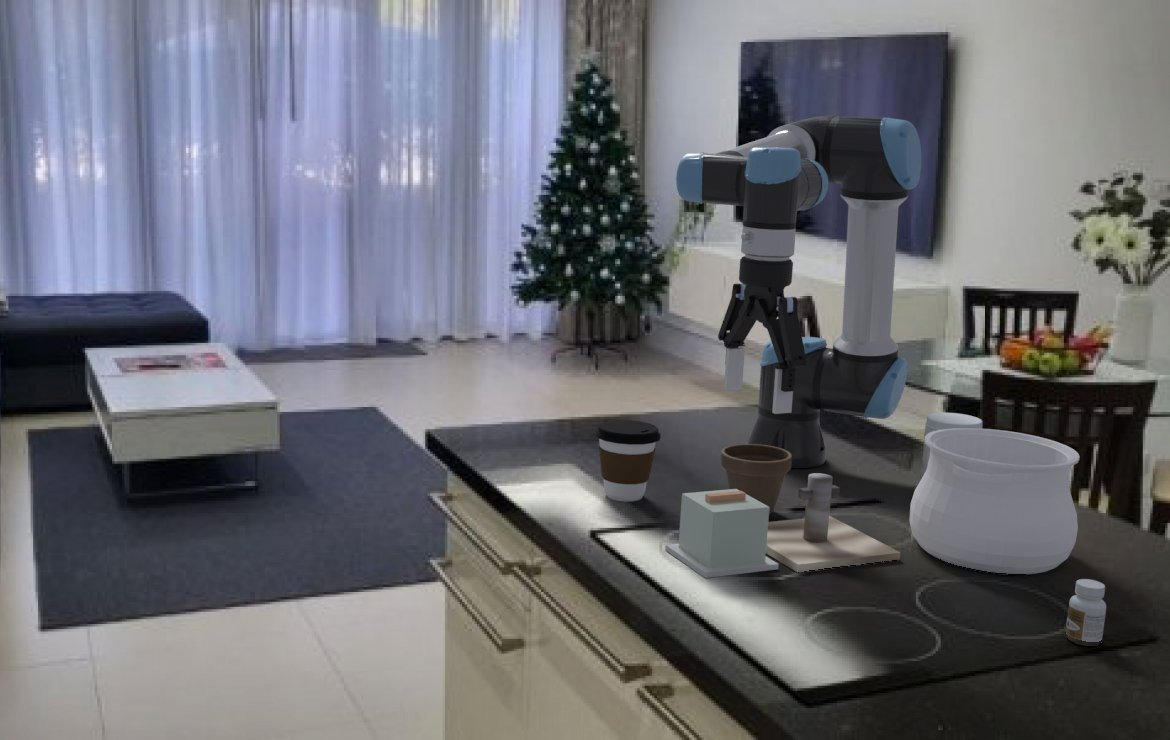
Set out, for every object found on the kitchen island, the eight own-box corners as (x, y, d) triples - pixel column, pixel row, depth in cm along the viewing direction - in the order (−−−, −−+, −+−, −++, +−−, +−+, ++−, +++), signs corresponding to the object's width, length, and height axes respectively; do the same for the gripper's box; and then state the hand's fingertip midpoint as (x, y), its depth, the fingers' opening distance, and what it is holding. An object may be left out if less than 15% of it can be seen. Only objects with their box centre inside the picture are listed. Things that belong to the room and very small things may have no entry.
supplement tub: (986, 504, 221) (996, 422, 218) (949, 511, 216) (959, 427, 213) (943, 489, 229) (952, 409, 226) (906, 496, 224) (914, 414, 221)
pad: (665, 549, 189) (665, 544, 189) (735, 542, 194) (735, 537, 194) (705, 577, 179) (705, 572, 179) (778, 569, 184) (778, 563, 184)
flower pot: (708, 515, 207) (713, 455, 205) (726, 496, 218) (730, 439, 216) (779, 526, 203) (784, 465, 201) (793, 507, 214) (798, 448, 212)
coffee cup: (670, 497, 215) (674, 428, 213) (627, 510, 207) (631, 438, 205) (621, 483, 223) (625, 415, 220) (578, 494, 215) (581, 424, 212)
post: (732, 532, 199) (738, 464, 197) (829, 522, 206) (835, 457, 204) (797, 572, 183) (804, 498, 181) (899, 560, 190) (906, 489, 188)
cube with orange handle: (732, 541, 192) (736, 482, 191) (765, 561, 184) (770, 500, 182) (678, 546, 189) (682, 486, 187) (709, 568, 180) (714, 505, 179)
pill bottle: (1058, 633, 165) (1066, 577, 164) (1091, 634, 166) (1099, 577, 164) (1074, 647, 161) (1082, 589, 160) (1107, 648, 162) (1115, 590, 160)
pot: (1051, 595, 179) (1066, 479, 176) (883, 557, 192) (894, 448, 188) (1088, 548, 200) (1102, 444, 197) (934, 516, 213) (945, 418, 210)
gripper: (701, 246, 192) (692, 383, 197) (792, 270, 170) (781, 424, 175) (744, 245, 195) (735, 380, 200) (839, 268, 173) (827, 420, 178)
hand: (756, 401), depth 187 cm, fingers open, 13 cm apart
